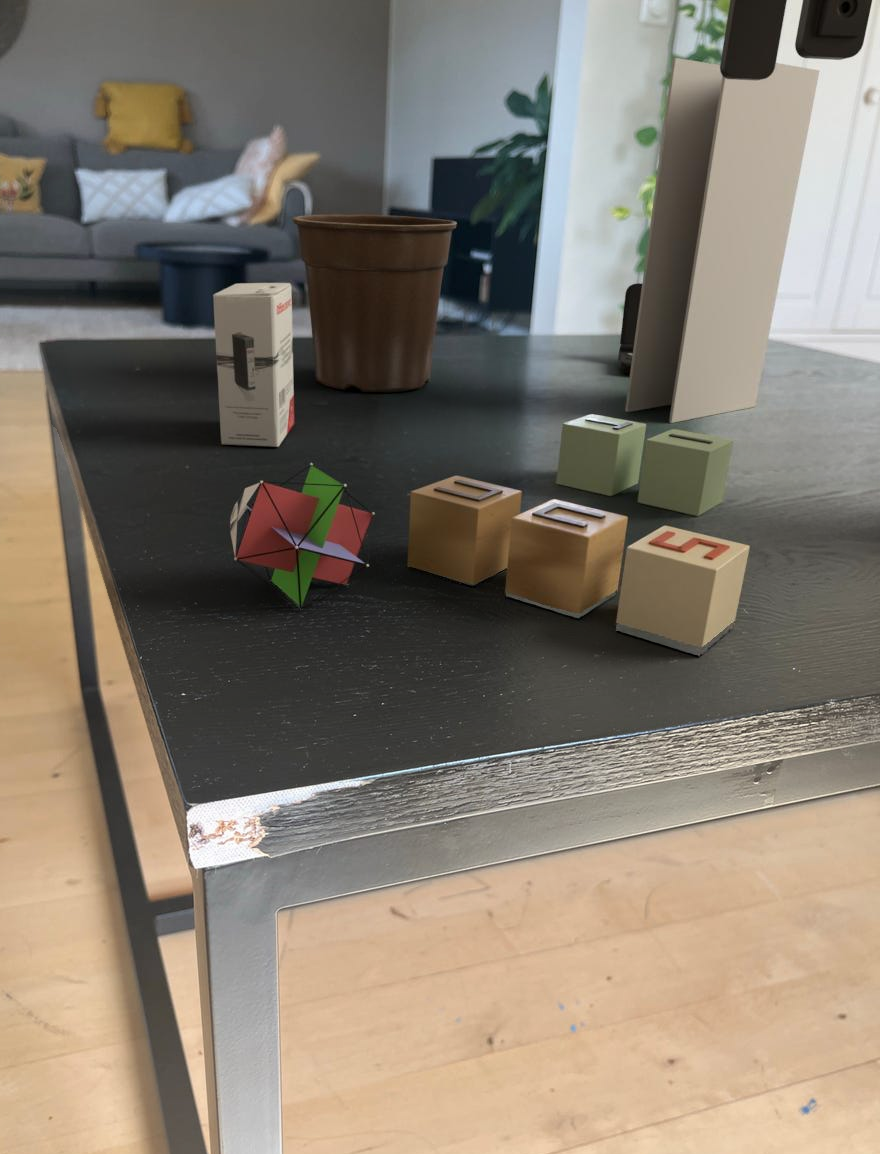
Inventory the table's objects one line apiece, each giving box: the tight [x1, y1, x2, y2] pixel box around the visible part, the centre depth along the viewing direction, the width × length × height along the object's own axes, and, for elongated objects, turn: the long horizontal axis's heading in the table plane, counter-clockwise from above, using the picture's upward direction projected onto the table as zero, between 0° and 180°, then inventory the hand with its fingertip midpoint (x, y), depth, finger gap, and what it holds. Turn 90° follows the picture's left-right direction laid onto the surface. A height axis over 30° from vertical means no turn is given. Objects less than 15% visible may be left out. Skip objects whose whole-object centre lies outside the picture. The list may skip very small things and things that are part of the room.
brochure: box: [624, 57, 820, 424], centre depth 92 cm, size 14×6×30 cm, turn 130°
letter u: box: [504, 498, 629, 613], centre depth 52 cm, size 4×4×5 cm
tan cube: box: [407, 475, 523, 584], centre depth 56 cm, size 4×4×5 cm
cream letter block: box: [615, 525, 751, 647], centre depth 49 cm, size 4×4×5 cm
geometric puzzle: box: [229, 462, 376, 609], centre depth 51 cm, size 7×7×8 cm
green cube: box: [555, 413, 647, 497], centre depth 72 cm, size 4×4×5 cm
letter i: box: [637, 428, 734, 517], centre depth 69 cm, size 4×4×5 cm
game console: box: [617, 283, 642, 375], centre depth 117 cm, size 16×14×9 cm
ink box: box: [212, 282, 295, 448], centre depth 80 cm, size 8×5×12 cm, turn 177°
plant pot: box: [292, 214, 458, 394], centre depth 102 cm, size 16×16×16 cm
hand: (781, 69), depth 39 cm, fingers open, 8 cm apart
